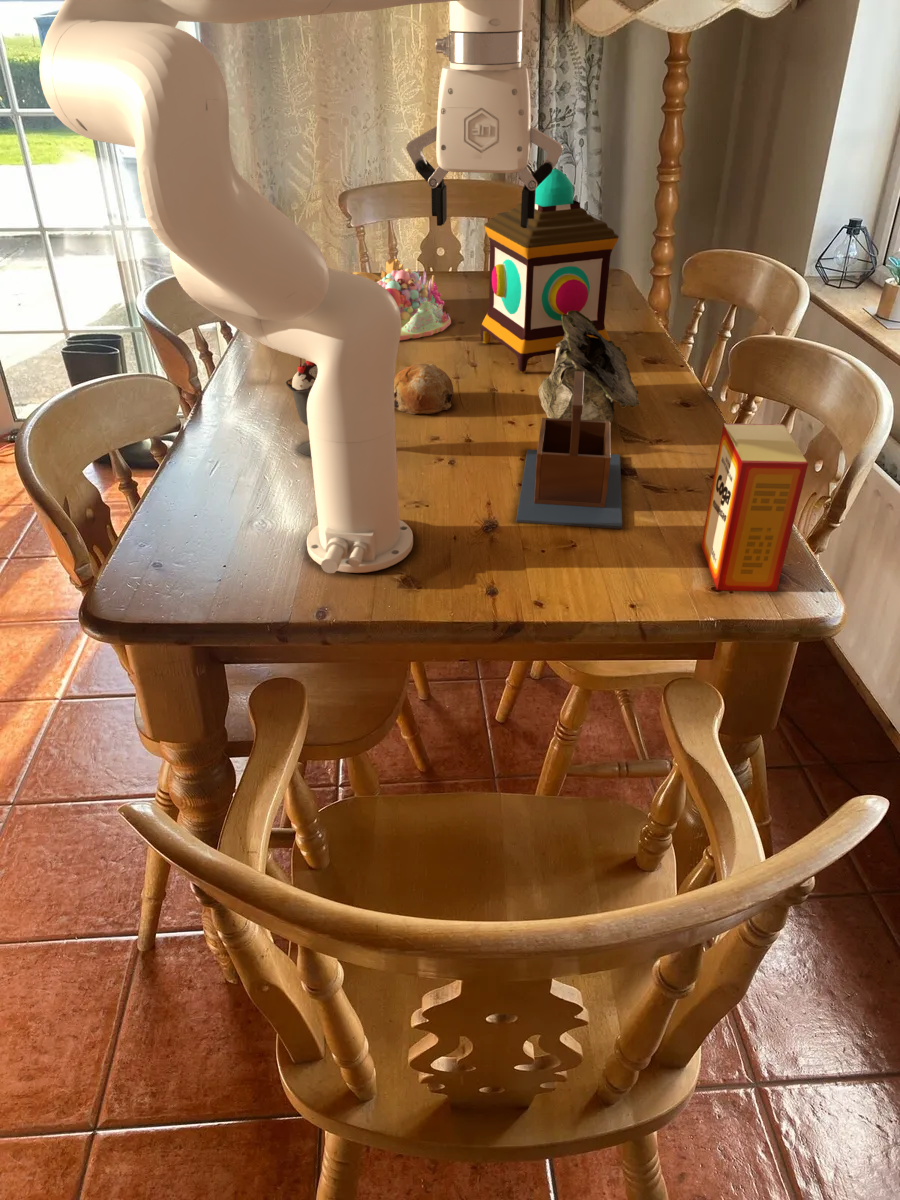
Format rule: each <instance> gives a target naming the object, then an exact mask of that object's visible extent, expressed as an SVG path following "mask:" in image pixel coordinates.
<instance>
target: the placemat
mask: <svg viewBox="0 0 900 1200" xmlns="http://www.w3.org/2000/svg"><path fill="white" fill-rule="evenodd" d="M537 450H538V449H527V451H526V455H525V463H524V469H523V475H522V481H521V487H520V494H519V499H518V507H517V514H516V520H515V522H516V523H523V524H524V523H525V524H541V525H554V526H567V527H568V526H570V527H572V526H573V527H584V528H601V529H614V530H615V529H617V530H622V529H623V509H622V505H623V504H622V477H621V475H622V473H621V472H622V471H621V469H622V468H621V454H617V453H616V454H614V453H610V454H611V459H610V468H609V477H608V487H607V496H606V505H605V508H601V507H585V506H569V505H553V504H537V503H534V497H535V479H536V461H537Z"/></svg>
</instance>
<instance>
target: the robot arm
mask: <svg viewBox="0 0 900 1200" xmlns="http://www.w3.org/2000/svg"><path fill="white" fill-rule="evenodd" d="M447 2H449V32H448V34H447V35H446V36H443V38H436V41H435V52H436V54H443V56H446V58H448V62H449V65H446V66H443V67H442V68H441V73H440V80H439V87H438V88H439V89H438V96H437V97H438V100H437V114H436V126H435V127H432V128H430V129H429V130H427V131H426V132H424V133H421V134H420V135H418V136H416V137H415V138H413V139H411V140H410V141H409V142H407V144H406V146H405V149H406V151H407V153H408V156H409V158H410V160H411V161H412V163H413V165H414V167H415V170H416V172H417V173H418V174H419V175H420V176H421V178H423V179H424V180H425V182H426V183H427V184H428V186H429V188H431V193H430V194H431V216H432V217H436V226H438V227H442V226H443V225H445V223H446V221H447V217H448V215H447V214H448V211H447V209H448V206H447V205H448V204H447V202H448V200H447V197H448V196H447V195H448V194H447V192H448V191H447V187H448V186H447V184H446V183H445V179H444V178H445V177H446V176H447V175H448V173H449V172H452V173H470V174H471V173H472V174H475V173H476V174H516V175H517V176H518V177H519V179H520V180H521V181H522V182H523V187H522V191H521V202H520V204H521V227H522V228H527V226H528V222H529V219H534V215H535V194H536V188H537V187H538V186H539V185H540V184H541V183H542V182H543V181H544V180H545V179H546V178H547V177H548V176H549V175H550V174H551V172H552V170H553V169H555V166H556V164H557V162H558V161H559V159H560V157H561V155H562V154H563V152H564V151H563V150H564V146H563V144H562V143H561V142H559V141H557V140H555V139H554V138H552V137H551V136H549V135H547V134H545V133H544V132H542V131H541V130H539V129H537V128H536V127H534V126H533V125H532V108H531V107H532V106H531V89H530V88H531V87H530V77H529V72H528V71H529V70H528V67H527V66H526V65H522V54H523V53H522V51H523V49H522V48H523V23H524V22H523V21H524V19H523V17H524V0H64V1H63V3H62V4H61V6H60V8H59V10H58V12H57V13H56V15H55V17H54V19H53V20H52V22H51V24H50V26H49V28H48V30H47V32H46V34H45V38H44V40H43V44H42V47H41V51H40V57H39V65H38V67H39V81H40V85H41V89H42V93H43V96H44V98H45V100H46V103H47V105H48V106H49V108H50V109H51V111H52V112H53V114H54V115H55V117H56V118H57V119H58V120H59V121H60V122H61V123H62V124H63V125H64V126H65V127H67V128H68V129H70V130H71V131H72V132H74V133H76V134H78V135H79V136H82V137H84V138H86V139H89V140H92V141H97V142H100V143H107V144H112V145H120V146H126V147H131V148H135V156H136V171H137V178H138V185H139V191H140V198H141V203H142V207H143V211H144V215H145V219H146V221H147V223H148V225H149V227H150V229H151V231H152V232H153V234H154V235H155V236H156V238H157V239H158V240H159V242H161V243H162V244H163V245H164V246H165V247H166V248H167V249H168V250H169V260H170V265H171V269H172V271H173V274H174V277H175V278H176V280H177V282H178V283H179V286H180V287H181V288H182V289H183V291H184V292H185V293H186V294H187V295H188V296H189V297H190V298H191V299H192V300H193V301H195V302H196V303H197V304H199V305H200V306H202V307H203V308H204V309H206V310H207V311H209V312H211V313H212V314H213V315H215V316H217V317H218V318H220V319H221V320H223V321H225V322H226V323H228V324H229V325H231V326H232V327H234V328H235V329H237V330H239V331H240V332H242V333H244V334H245V335H246V336H248V337H250V338H251V339H253V340H255V341H256V342H258V343H260V344H261V345H264V346H265V347H269V348H270V349H272V350H275V351H279V352H281V353H284V354H287V355H290V356H294V357H296V358H299V359H300V358H302V360H305V361H310V362H313V363H315V364H316V365H317V368H318V374H317V377H316V380H315V382H314V384H313V386H312V388H311V391H310V393H309V396H308V401H307V421H308V426H307V429H308V436H309V442H310V447H311V456H310V457H311V466H312V476H313V487H314V495H315V505H316V506H315V507H316V515H317V524H316V525H315V526H314V527H313V528H312V529H311V530H310V531H309V533H308V535H307V537H306V549H307V552H308V555H309V557H310V558H311V559H312V560H313V561H314V562H316V563H317V564H318V565H320V568H321V569H322V570H323V572H325V573H326V574H335V573H336V572H341V573H346V574H347V573H349V574H350V573H351V574H361V573H362V574H363V573H372V572H377V571H382V570H384V569H385V570H386V569H387V568H390V567H393V566H394V565H397V564H399V563H400V562H401V561H403V560H404V559H405V558H407V556H408V555H410V553H411V552H412V550H413V545H414V535H413V530H412V529H411V527H410V526H409V525H408V524H407V522H405V521H403V520H402V519H400V503H399V481H398V456H397V433H396V432H397V431H396V430H397V429H396V415H395V414H396V413H395V411H396V410H395V407H394V378H395V376H396V364H397V359H398V352H399V345H400V341H401V340H400V333H401V317H400V311H399V308H398V306H397V303H396V301H395V300H394V298H393V297H392V295H391V294H390V293H389V292H388V291H387V290H386V289H385V288H384V287H383V286H381V285H380V284H378V283H376V282H374V281H372V280H370V279H368V278H366V277H363V276H360V275H356V274H352V273H353V272H347V271H343V270H340V269H335V268H331V267H328V264H327V261H326V258H325V256H324V253H323V252H322V251H321V248H320V246H318V244H317V243H316V242H315V240H314V239H313V238H312V237H311V236H310V235H309V234H308V233H307V232H306V231H305V230H304V229H303V228H301V227H300V226H299V225H298V224H296V223H295V222H294V221H293V220H292V219H290V218H289V217H288V216H286V214H284V213H283V212H282V211H281V210H279V208H277V207H276V206H275V205H274V204H273V203H272V202H270V201H269V200H267V199H266V198H265V197H264V196H263V195H261V194H260V193H259V192H258V191H257V190H256V189H255V188H254V187H252V185H251V184H249V182H248V181H247V180H246V179H245V178H244V177H243V176H242V175H241V174H240V173H239V172H238V170H237V168H236V166H235V164H234V160H233V157H232V152H231V144H230V143H231V141H230V113H229V112H230V111H229V97H228V91H227V87H226V83H225V79H224V76H223V74H222V70H221V69H220V67H219V65H218V63H217V61H216V59H215V58H214V56H213V54H212V53H211V52H210V51H209V50H208V48H207V47H206V46H205V45H204V44H203V43H202V42H201V41H200V40H199V39H197V38H196V37H194V36H193V35H192V34H190V33H189V32H187V31H185V30H182V29H180V28H177V25H178V24H179V22H186V23H187V22H189V23H206V24H207V23H210V24H228V25H229V24H244V23H255V22H265V21H273V20H280V19H286V18H295V17H305V16H319V15H331V14H340V13H354V12H355V13H357V12H358V13H359V12H371V11H379V10H384V9H385V10H386V9H390V8H396V7H402V6H403V7H404V6H412V5H421V4H432V3H434V4H435V3H447ZM435 142H436V149H435V151H436V152H435V154H436V163H437V165H438V166H437V167H436V169H435V167H433V165H432V164H431V163H430V162H429V161H428V160H427V159H426V157H425V155H424V152H423V149H424V148H426V147H428V146H430V145H431V144H433V143H435ZM532 144H534V146H535V145H536V146H537V147H538V148H540V149H542V150H543V151H545V152H546V154H547V155H546V157H545V159H544V161H543V163H542V164H541V165H540V166H539V167H538V168H537V169H536V170H534V168H533V167H532V166H531V165H530V163H529V159H530V155H531V149H532V148H531V147H532V146H531V145H532Z"/></svg>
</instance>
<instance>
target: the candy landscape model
mask: <svg viewBox="0 0 900 1200" xmlns="http://www.w3.org/2000/svg"><path fill="white" fill-rule="evenodd" d="M419 270H420V269H417V271H413V270H412V269H411V268H409V267H408V268H405V269H404V264H403V263H401V261H400V260H398V259H397V258H389V259H388V260H386V263H385V271H384V270H381V273H380V274H381V275H380V276H379V275H377V274H376V273H372V272H366V271H353V272H351V273H352V274H356V275H360V276H363V277H366V278H368V279H370V280H372V281H374V282H376V283H378V284H380V285H381V286H383V287H384V288H385V289H386V290H387V291H388V292H389V293H390V294H391V295H392V297H393V298H394V300H395V301H396V303H397V306H398V308H399V311H400V317H401V333H400V341H406V340H410V339H420V338H423V337H430V336H433V335H434V334H438V333H442V332H443V331H445V330H446V329H447V328H448V327H449V326H450V325H451V324H452V319H451V316H450V315H449V312H447V313H446V311H444V310H443V309H444V306H445V301H444V300H442V299H441V298H440V297H441V296H442V294H441V292H439V291H438V285H437V283H435V275H434V274H432V275H431V278H430V279H429V280H428V279H427V277H428V276H427V271H425V269H423V273H422V275H420V271H419Z"/></svg>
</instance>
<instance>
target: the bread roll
mask: <svg viewBox="0 0 900 1200" xmlns="http://www.w3.org/2000/svg"><path fill="white" fill-rule="evenodd" d="M453 398H454V385H453V382H452V380H451V378H450V376H449V375H448V374H447V373H446V371H444V370H443V369H442V368H438V367H437V365H435V364H434V363H432V364H431V363H429V364H427V363H415V364H412V365H409V366H407V367H404V368H403V369H401V370H400V371H399V372H398V373H396V374H395V378H394V409H396V410H397V411H399V412H402V413H406V414H410V415H413V416H416V415H418V414H420V415H423V414H424V415H430V414H437V413H440V412H442V411H448V410H449V409H450V408H452V401H453Z"/></svg>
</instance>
